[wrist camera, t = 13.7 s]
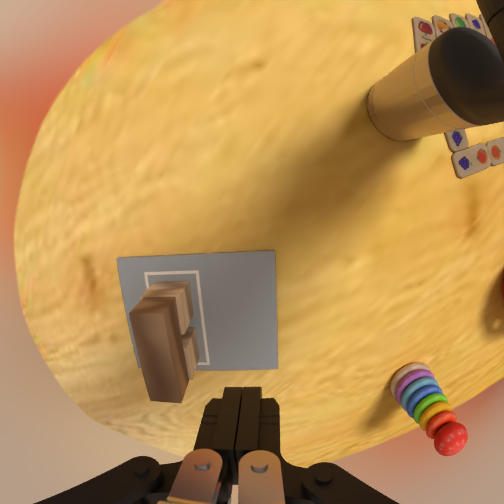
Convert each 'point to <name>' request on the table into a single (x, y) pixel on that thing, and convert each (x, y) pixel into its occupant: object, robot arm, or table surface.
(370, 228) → the table surface
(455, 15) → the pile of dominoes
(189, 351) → the pillar
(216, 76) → the table surface
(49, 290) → the table surface
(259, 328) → the board
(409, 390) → the stacking toy
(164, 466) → the robot arm
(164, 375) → the lintel
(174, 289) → the tan wooden cube
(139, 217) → the table surface
